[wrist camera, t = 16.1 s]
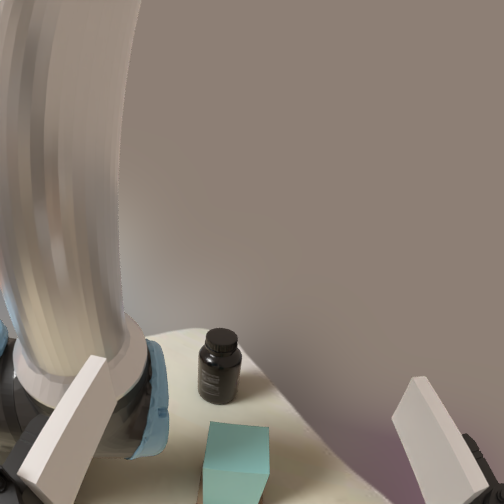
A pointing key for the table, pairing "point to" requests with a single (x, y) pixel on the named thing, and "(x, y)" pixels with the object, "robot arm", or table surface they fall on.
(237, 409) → the table surface
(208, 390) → the supplement bottle
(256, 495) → the tall teal pillar
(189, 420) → the table surface
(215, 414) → the table surface
